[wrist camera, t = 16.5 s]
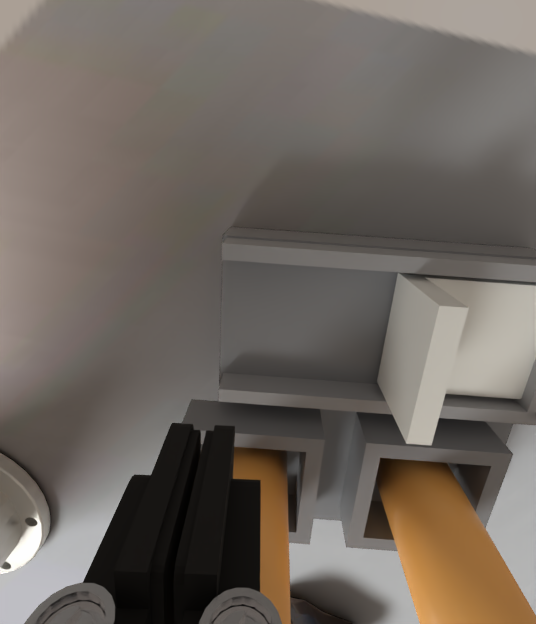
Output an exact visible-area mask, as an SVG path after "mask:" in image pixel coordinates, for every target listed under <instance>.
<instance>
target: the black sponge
mask: <svg viewBox="0 0 536 624" xmlns="http://www.w3.org/2000/svg"><path fill="white" fill-rule="evenodd" d="M290 615H291V624H352V623H351V622H349V621H346V620H343V619H340V618H337V617H334V616H331V615H329V614H327V613H324V612H322V611H320V610H319V609H318V608H316V607H315V606H314V605H312V604H310V603H308V602H307V601H305V600H301V599H294V598H291V597H290Z"/></svg>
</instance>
